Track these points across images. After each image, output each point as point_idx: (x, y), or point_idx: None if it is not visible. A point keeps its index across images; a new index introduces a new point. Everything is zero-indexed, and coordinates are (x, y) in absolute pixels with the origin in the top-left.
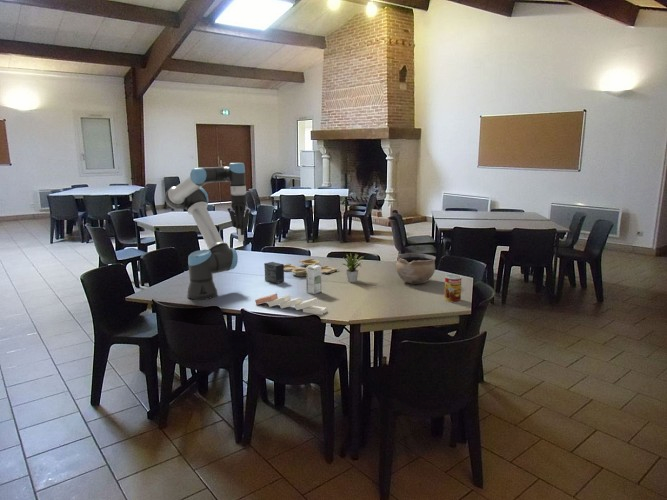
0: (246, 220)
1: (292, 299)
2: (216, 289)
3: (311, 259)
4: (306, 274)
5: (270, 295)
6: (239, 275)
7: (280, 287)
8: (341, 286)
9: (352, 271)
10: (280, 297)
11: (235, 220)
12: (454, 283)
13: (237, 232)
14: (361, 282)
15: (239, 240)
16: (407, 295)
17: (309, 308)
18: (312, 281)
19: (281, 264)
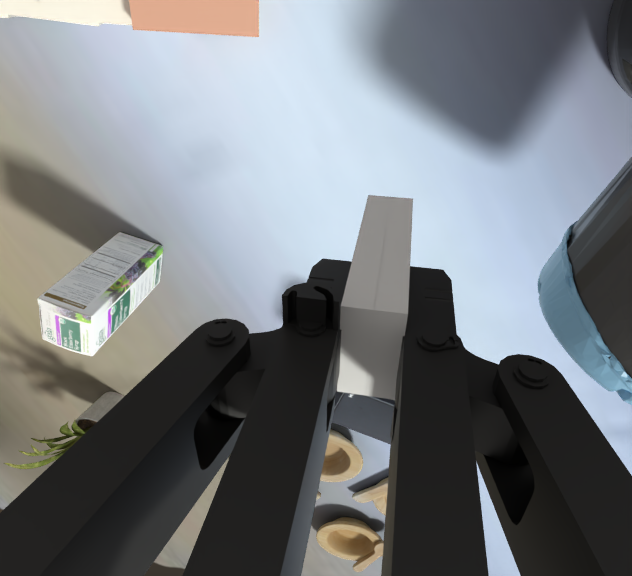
0: (76, 463)
1: (28, 3)
2: (626, 73)
3: (359, 562)
4: (116, 290)
5: (162, 6)
6: (606, 407)
7: None
8: (104, 344)
9: (90, 427)
10: (113, 20)
11: (474, 502)
12: None
13: (431, 292)
14: (81, 393)
15: (387, 203)
16: None
17: None
18: (95, 262)
19: (335, 416)
